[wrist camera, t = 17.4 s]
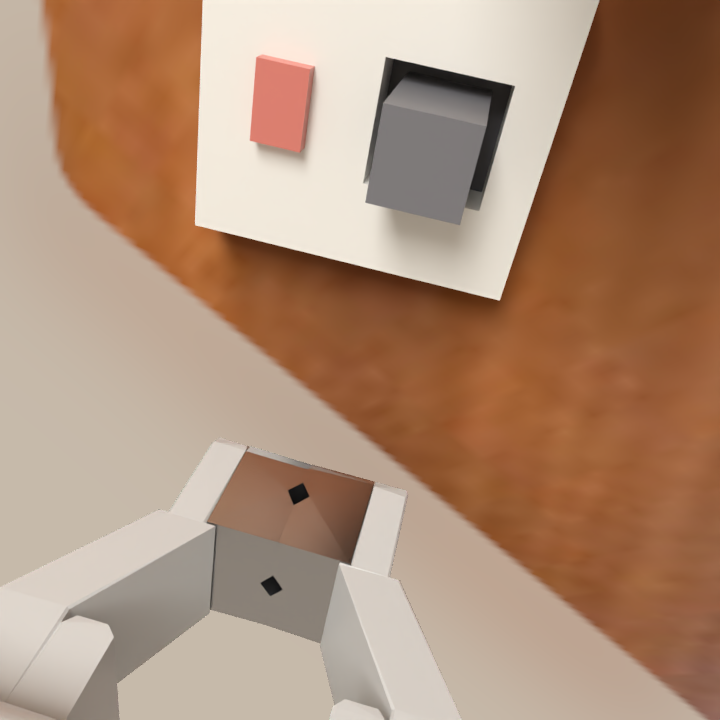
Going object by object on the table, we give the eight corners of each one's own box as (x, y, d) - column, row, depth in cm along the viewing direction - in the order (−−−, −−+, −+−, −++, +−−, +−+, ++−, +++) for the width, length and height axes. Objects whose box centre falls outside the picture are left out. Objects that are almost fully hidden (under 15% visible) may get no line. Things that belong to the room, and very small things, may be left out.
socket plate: (597, -21, 28) (607, -15, 25) (500, 275, 36) (499, 308, 33) (232, -98, 29) (198, -102, 26) (216, 205, 37) (188, 230, 34)
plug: (492, 90, 31) (486, 126, 25) (469, 174, 33) (459, 225, 27) (408, 71, 31) (383, 102, 25) (391, 156, 33) (365, 202, 28)
